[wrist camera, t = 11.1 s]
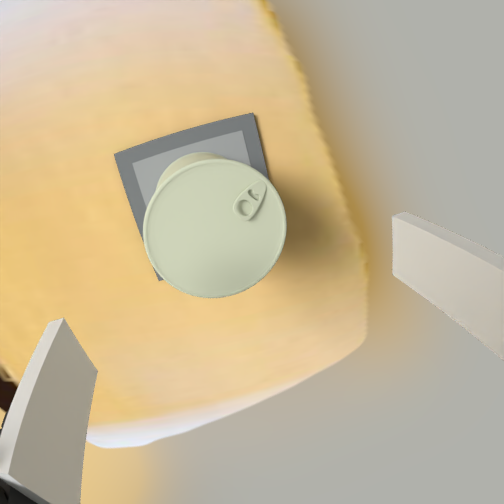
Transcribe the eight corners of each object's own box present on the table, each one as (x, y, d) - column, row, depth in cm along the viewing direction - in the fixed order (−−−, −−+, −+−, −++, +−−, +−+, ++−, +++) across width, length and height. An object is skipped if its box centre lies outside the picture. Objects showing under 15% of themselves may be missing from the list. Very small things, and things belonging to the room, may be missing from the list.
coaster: (115, 153, 25) (113, 154, 25) (251, 113, 27) (253, 112, 27) (159, 278, 31) (159, 281, 30) (280, 239, 33) (282, 241, 32)
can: (265, 193, 30) (317, 226, 19) (206, 260, 31) (224, 325, 20) (198, 132, 26) (212, 125, 15) (136, 205, 27) (111, 247, 16)
